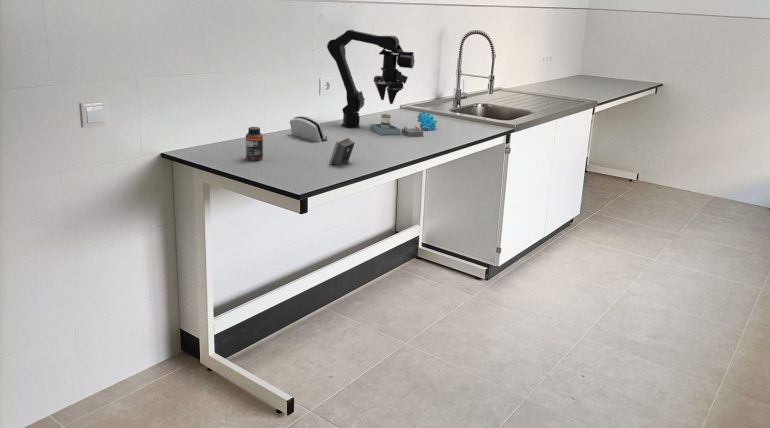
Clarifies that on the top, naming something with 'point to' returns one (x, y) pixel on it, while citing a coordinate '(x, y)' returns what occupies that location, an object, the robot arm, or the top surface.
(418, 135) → the fuse block
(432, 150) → the top surface
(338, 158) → the electrical switch
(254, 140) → the supplement bottle
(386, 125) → the fuse
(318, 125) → the white half-oval case
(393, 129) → the tray
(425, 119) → the gear
